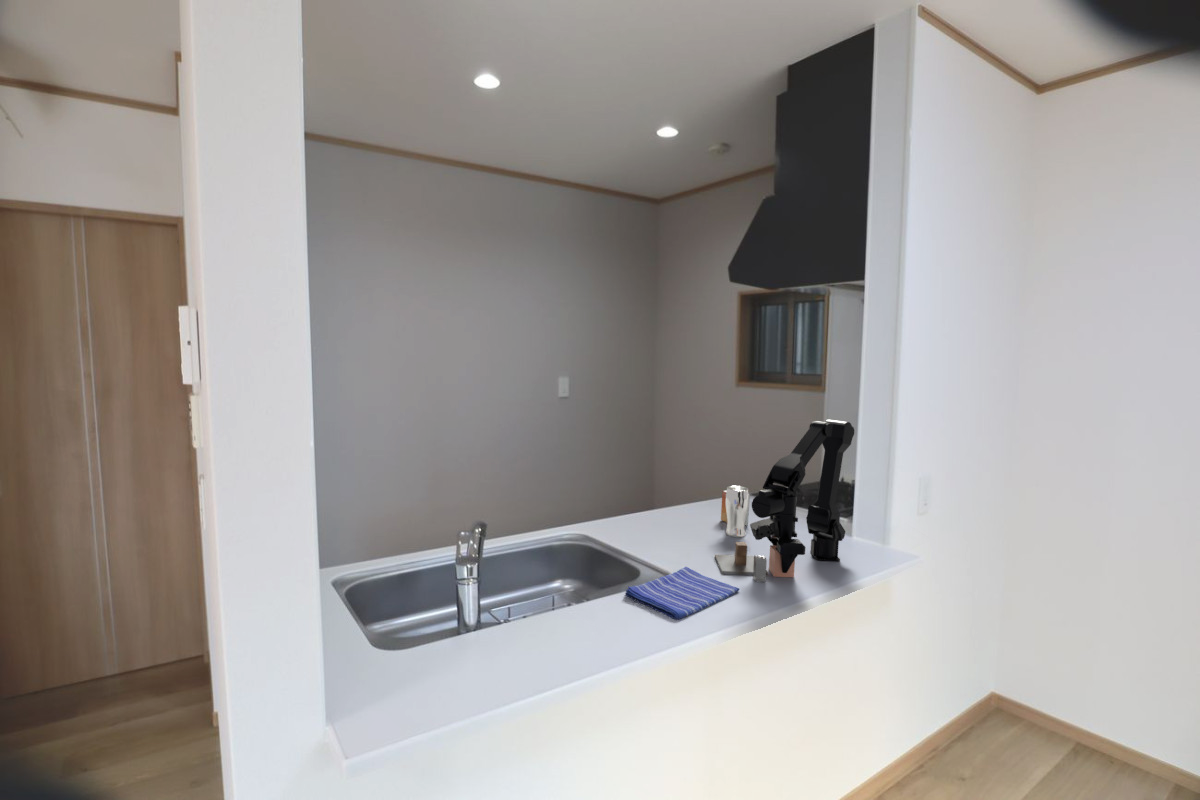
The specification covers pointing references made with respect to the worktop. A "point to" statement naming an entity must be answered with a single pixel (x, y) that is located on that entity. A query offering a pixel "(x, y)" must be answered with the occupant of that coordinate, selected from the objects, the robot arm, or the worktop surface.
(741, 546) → the plate
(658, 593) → the dish towel
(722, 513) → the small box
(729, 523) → the beer glass
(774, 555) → the salmon pink block
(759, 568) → the post steel
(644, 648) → the worktop surface
